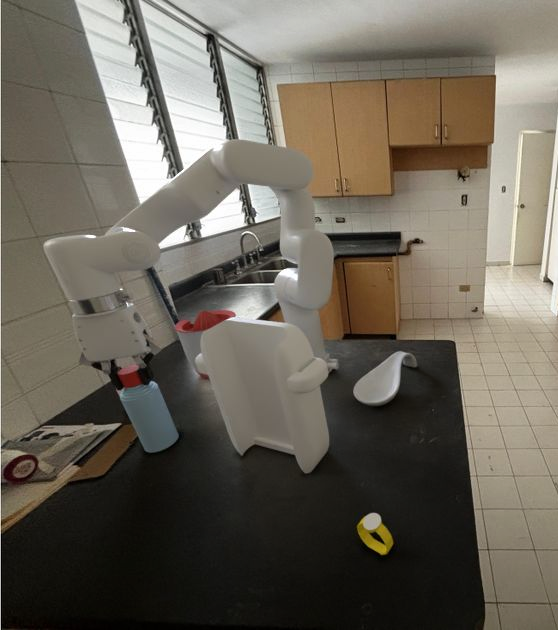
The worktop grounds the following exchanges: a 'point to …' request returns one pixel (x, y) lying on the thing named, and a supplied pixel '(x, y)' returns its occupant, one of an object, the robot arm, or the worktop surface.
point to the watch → (375, 525)
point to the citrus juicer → (199, 332)
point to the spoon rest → (383, 380)
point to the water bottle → (149, 416)
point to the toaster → (267, 387)
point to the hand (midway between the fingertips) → (135, 383)
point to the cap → (129, 376)
